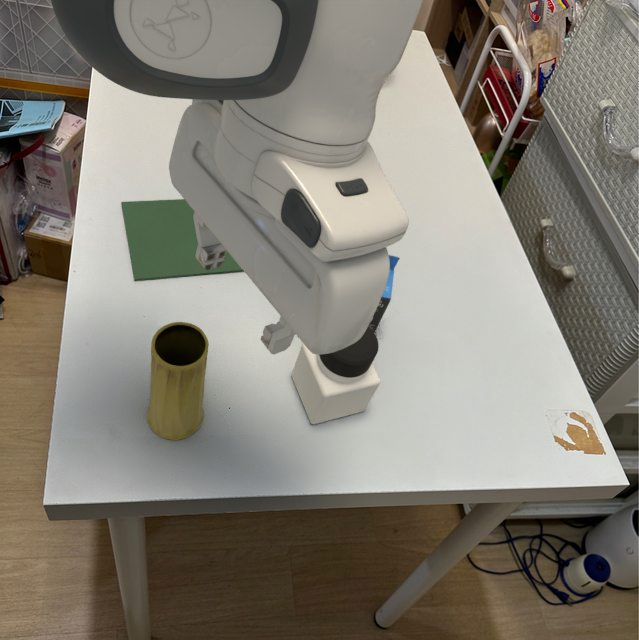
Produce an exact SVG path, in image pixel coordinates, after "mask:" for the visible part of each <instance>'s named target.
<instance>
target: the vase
mask: <svg viewBox="0 0 639 640" xmlns="http://www.w3.org/2000/svg"><path fill="white" fill-rule="evenodd" d="M209 343H210V342H209V339H208V337H207V335H206V334H205V332H204V331H203V330H202V328H200V327H199V326H198V325H196V324H194V323H190V322H186V321H173V322H170V323H167V324H164V325H162V326H161V327H160V328H158V329H157V331H156V332H155V333H154V334H153V335H152V339H151V344H150V345H151V347H150V353H151V354H150V374H149V375H150V378H149V380H150V381H149V390H150V391H149V405H148V407H147V410H146V421H147V424H148V426H149V427H150V429H151V430H152V432H154V434H156V435H157V436H158V437H161V438H163V439H166V440H172V441H175V440H184V439H186V438H189V437H190V436H192V435H193V434H195V433H196V432H197V431H198V430H199V429H200V427H201V425H202V423H203V420H204V406H203V405H204V396H205V383H206V382H205V380H206V372H207V364H208V354H209V346H210V345H209Z"/></svg>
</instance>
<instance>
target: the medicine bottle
mask: <svg viewBox="0 0 639 640" xmlns="http://www.w3.org/2000/svg"><path fill="white" fill-rule="evenodd" d="M379 347H380V345H379V339H378V337H377V335H376V332H375V333H374V332H373V331H372V330H371V328H369V327H367V329H366V331H365V333H364V334H363V336H362V337H361V338H360V339H359V340H358V341H357V342H355V343H354V344H352V345H350V346H348V347H346V348H344V349H341V350H338V351H336V352H333V353H329V354H320V355H316V354H313V353H311V352H310V351H309V350H308V348H307V347H306V346H305V345H304V343H303V342H302V344H301V346H300V349H299V353H298V355H297V358H296V360H295V363H294V366H293V369H292V371H291V378H292V380H293V381H292V382H293V384H294V385H295V388H296V390H297V393H298V396H299V398H300V401H301V403H302V405H303V408H304V410H305V413H306V416H307V418H308V420H309V423H310V424H311V425H318V424H320V423H325V422H328V421H332V420H336V419H340V418H343V417H348V416H351V415H355V414H359V413H362V412H365V410H366V408H367V407H368V405H369V403H370V402H371V400H372V398H373V396H374V395H375V393H376V391H377V390H378V388H379V386H380V384H381V382H382V381H381V378H380V375H379V374H378V372H377V369H376V368H375V365H374V364H373V362H374V360H375V358H376V356H377V354H378V352H379Z"/></svg>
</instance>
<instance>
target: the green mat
mask: <svg viewBox="0 0 639 640" xmlns="http://www.w3.org/2000/svg"><path fill="white" fill-rule="evenodd" d="M120 204H121V209H122V215H123V221H124V228H125V233H126V240H127V246H128V251H129V256H130V263H131V268H132V274H133V279H134V282H139V281H150V280H163V279H173V278H185V277H196V276H197V277H198V276H207V275H208V276H209V275H220V274H231V273H245V272H244V271H243V269H242V268H241V267H240V266H239V265H238V263H237V262H236V261H235V260H234V259H233V257H232V256H231V255H230V254H229V253H228V251H226V255H225V257H224V263H223V264H222V265H221V266H220V267H218V268H212V269H210V270H206V269H205V268H204V267H203V266H202V264H201V263H200V262H199V261H198V260H197V259H196V251H197V246H198V241H197V236H196V230H195V225H194V219H193V216H194V210H193V209H192V208H191V207H190V205H189V204H188V203H187V202H186V201H185V199H184V198H180V199H177V198H175V199H155V200H130V201H121V203H120Z"/></svg>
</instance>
